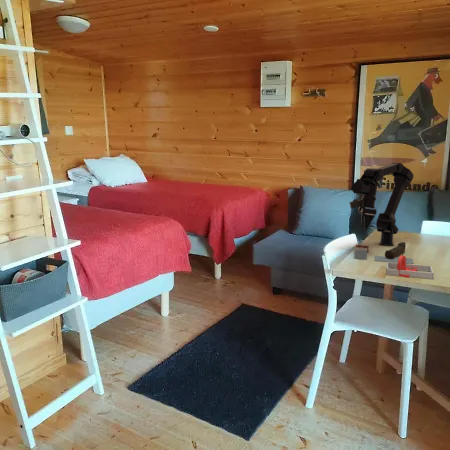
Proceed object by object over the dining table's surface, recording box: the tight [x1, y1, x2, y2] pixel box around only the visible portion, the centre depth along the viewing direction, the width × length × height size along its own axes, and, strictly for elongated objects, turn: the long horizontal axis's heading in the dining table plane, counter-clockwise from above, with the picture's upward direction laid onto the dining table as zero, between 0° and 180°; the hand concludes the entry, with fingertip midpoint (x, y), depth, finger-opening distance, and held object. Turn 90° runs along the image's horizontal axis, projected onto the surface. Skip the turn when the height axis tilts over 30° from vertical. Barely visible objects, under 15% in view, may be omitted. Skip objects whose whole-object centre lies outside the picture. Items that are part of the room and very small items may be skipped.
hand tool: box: [384, 242, 406, 259], centre depth 204 cm, size 19×4×5 cm, turn 135°
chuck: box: [354, 247, 368, 260], centre depth 201 cm, size 5×5×4 cm
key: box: [354, 244, 370, 253], centre depth 207 cm, size 7×6×3 cm
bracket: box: [396, 254, 418, 279], centre depth 179 cm, size 12×4×8 cm, turn 140°
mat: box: [374, 255, 415, 265], centre depth 197 cm, size 8×16×1 cm, turn 70°
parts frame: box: [385, 262, 434, 280], centre depth 179 cm, size 10×17×2 cm, turn 70°
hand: (364, 227), depth 211 cm, fingers open, 9 cm apart
